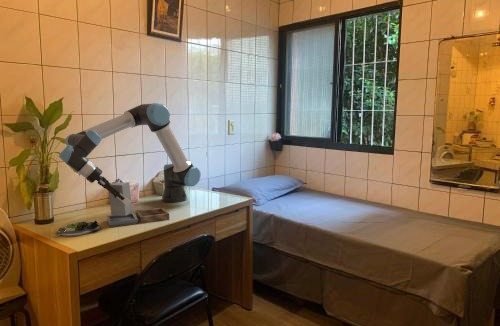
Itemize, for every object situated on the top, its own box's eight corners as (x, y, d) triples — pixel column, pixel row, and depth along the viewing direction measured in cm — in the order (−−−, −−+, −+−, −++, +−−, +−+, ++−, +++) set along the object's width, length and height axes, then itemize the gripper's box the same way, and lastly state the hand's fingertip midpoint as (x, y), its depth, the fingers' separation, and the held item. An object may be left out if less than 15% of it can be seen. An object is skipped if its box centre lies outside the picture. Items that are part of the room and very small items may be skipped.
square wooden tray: (163, 213, 202) (162, 207, 202) (169, 219, 189) (169, 213, 189) (136, 216, 196) (135, 210, 195) (140, 223, 183) (140, 217, 183)
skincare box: (132, 213, 187) (131, 182, 185) (124, 216, 180) (122, 184, 178) (118, 212, 189) (116, 181, 187) (109, 215, 182) (107, 183, 180)
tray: (133, 217, 194) (133, 212, 193) (138, 223, 182) (137, 218, 182) (107, 220, 188) (106, 215, 188) (109, 227, 176) (109, 222, 176)
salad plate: (63, 242, 158) (62, 231, 157) (46, 233, 170) (46, 223, 169) (106, 231, 172) (106, 221, 172) (88, 224, 184) (88, 215, 183)
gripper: (83, 174, 185) (118, 202, 194) (85, 181, 165) (124, 212, 174) (94, 163, 187) (129, 191, 196) (98, 168, 167) (136, 199, 176)
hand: (127, 201), depth 185 cm, fingers closed on skincare box, 10 cm apart
